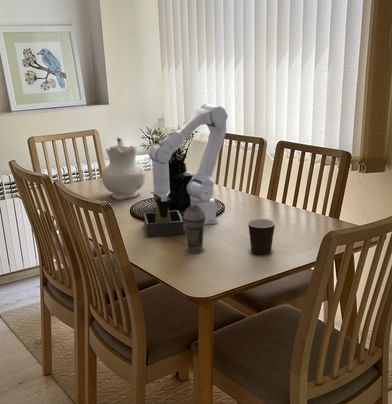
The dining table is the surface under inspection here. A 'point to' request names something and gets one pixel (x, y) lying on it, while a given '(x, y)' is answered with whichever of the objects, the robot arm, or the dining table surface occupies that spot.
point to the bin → (163, 225)
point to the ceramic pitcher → (123, 172)
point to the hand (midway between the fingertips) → (162, 214)
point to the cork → (158, 217)
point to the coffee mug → (261, 236)
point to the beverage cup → (194, 227)
